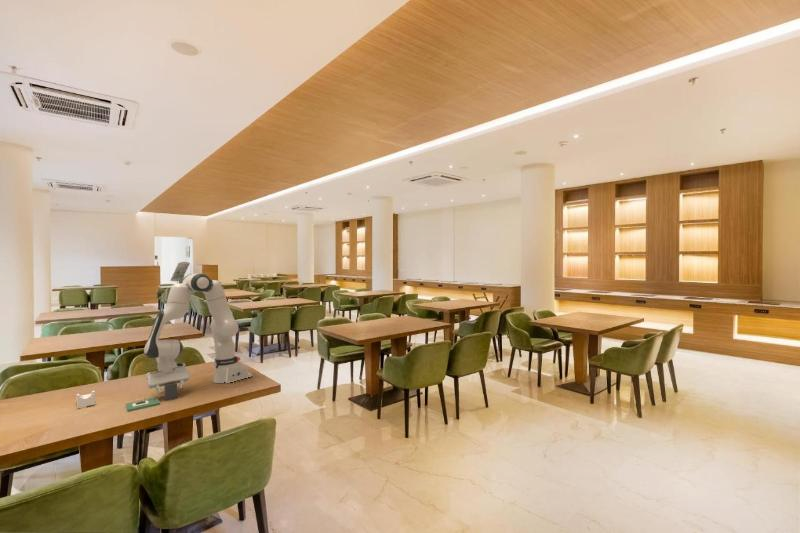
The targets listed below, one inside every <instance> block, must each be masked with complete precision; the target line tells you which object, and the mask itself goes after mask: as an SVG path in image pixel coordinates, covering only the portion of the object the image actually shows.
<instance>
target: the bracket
mask: <svg viewBox="0 0 800 533" xmlns="http://www.w3.org/2000/svg"><path fill="white" fill-rule="evenodd" d="M95 394H96V393H95V390H92V391H91V393H88V394H83V395H80V393H77V394H76V408H77V410H79V409H78V408H82V409H84V408H83V407H86V408H87V407H89V406H93V405H96V395H95Z"/></svg>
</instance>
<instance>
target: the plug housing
mask: <svg viewBox="0 0 800 533" xmlns="http://www.w3.org/2000/svg"><path fill="white" fill-rule="evenodd" d="M163 388H164V389H163V390H164V391H163V393H164V400H165V401H171V400H175V399H178V398H179V397H178V383H176V382H174V383H169V384H164V386H163Z"/></svg>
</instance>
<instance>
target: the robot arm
mask: <svg viewBox="0 0 800 533" xmlns="http://www.w3.org/2000/svg"><path fill="white" fill-rule="evenodd" d="M198 292H199V293H203V295H204V297H205V301H206V305H207V308H208V310H209V311H208V312H209V313H210V315H211V317H212V321H211V323H210V330H211V334H212V338H213V343H214V354H215V356H214V357H215V358H214V369H215V370H214V375H213V376H214V378H213V379H212V380H213V381H212V382H213V383H215V384H231V383H230V382H233V383H235V382H234V381H236V382H238V381H237V380H240V379H244V378H247V379H249V378H248V377H251V376H252V377H253V374H252V373H251V372H249V369H248V367H247V366H246V365H245V364H243V363H242V362H240V361H241V357H240V356H236V355H235V352H236V350H235V343H234V340H233V337H234V336H236V334H238V331H239V325H238V323H237V322H236V319H235V317H234V315H233V313H232V311H231V309H230V306H229V302H228V299H227V296H226V293H225V291H224V288H223V286H222V284H221V282H220V281H219V280H216V279H211V278H210V277H209V276H208V275H206V274H205V273H199V272H197V273H188V274H187V275H186V276H185V277H184V278H182V280H181V281H180V283H178V282H177V283H174V284H173V285H171V287H170V289H169V292H168V295H167V300H166V305H165V306H164V308H163V309H162V310H160V311H159V312H158V314H157V315H156V318H155V319H154V322H153V324H152V328H151V330H150V333H149V337H148V338H147V341H146V342H145V345H144V348H143V354H144V355H145V357H147V358H149V359H156V362H157V366H156V367H157V370H156V371H155V370H153V371H150V372H148V373H146V374H145V379H146V380H147V388H148V389H149V390H150V389H155V390H156V391H158V393H159V394H160V395H161V394H163V393H164V391H163V388H162V387H164V384H169V383H174V382H176V383H177V384H179V385H178V390H183V384H184V382H189V381H190V380H191V375H190V372H189V369H188V368H187V367H186V363H185V362H176V361H175V359H177V358H178V357H179V356H180V355H181V354H182V353H183V351H184V350H183V349H184V348H183V347H184V346H183V343H182V342H181V340H179V339H160V336H161V333H162V330H163V328H164V326H165V324H167V323H169V322H170V321H173V320H176V319H179V318H182V317H183V316H185V315H186V314H187V312H188V310H189V306H190V304H189V303H190V298H191V296H192V294H193V293H198ZM252 377H251V378H252ZM244 380H245V379H244ZM240 381H241V380H240ZM224 382H225V383H224ZM160 387H161V388H160Z"/></svg>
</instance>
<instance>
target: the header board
mask: <svg viewBox="0 0 800 533" xmlns="http://www.w3.org/2000/svg"><path fill="white" fill-rule="evenodd" d="M159 405H161V402H160V400H159V398H158V396H154V397H152V398H150V397H149V398H146V399H145V396H142V397H139V398H135V401H132V402H127V403H125V409H126V411H127V413H129V412H133V411H137V410H142V409H145V408H151V407H156V406H159Z"/></svg>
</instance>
